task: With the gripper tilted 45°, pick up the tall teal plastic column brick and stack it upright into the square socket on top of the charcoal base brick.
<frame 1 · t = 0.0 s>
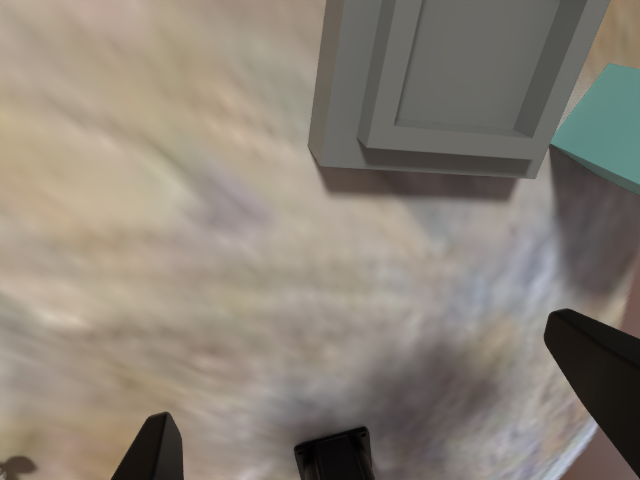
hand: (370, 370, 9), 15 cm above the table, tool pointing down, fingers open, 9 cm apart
base brick: (441, 35, 20), on the table
column brick: (602, 123, 25), on the table
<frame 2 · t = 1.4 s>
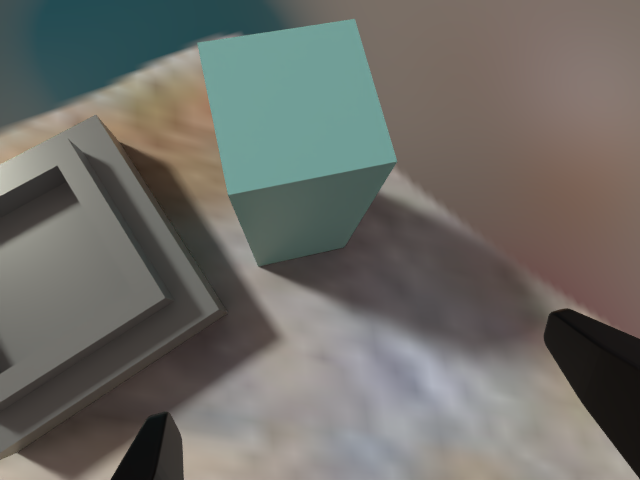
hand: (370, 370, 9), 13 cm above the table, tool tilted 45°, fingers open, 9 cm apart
base brick: (72, 283, 22), on the table
column brick: (292, 215, 24), on the table
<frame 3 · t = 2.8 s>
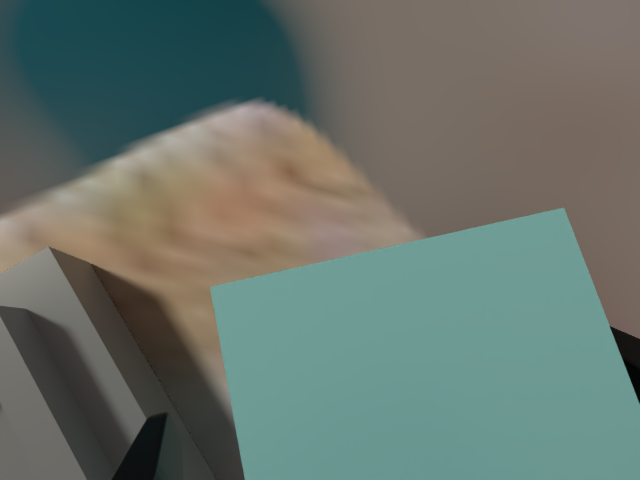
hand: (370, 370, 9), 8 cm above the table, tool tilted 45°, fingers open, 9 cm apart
column brick: (338, 371, 17), on the table
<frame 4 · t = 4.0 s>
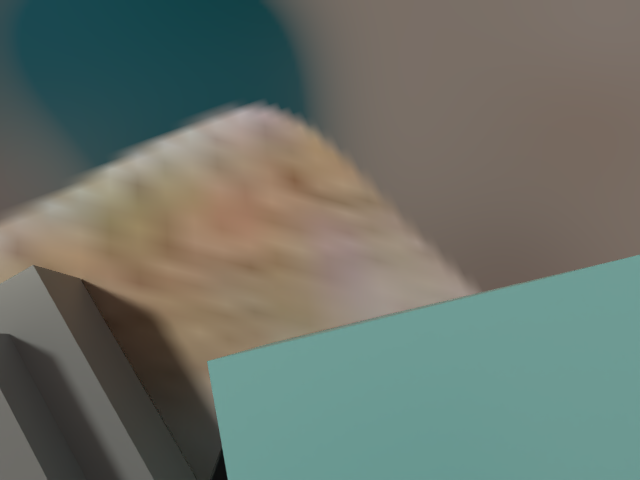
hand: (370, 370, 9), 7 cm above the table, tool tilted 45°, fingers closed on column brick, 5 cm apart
column brick: (346, 394, 16), on the table, touching gripper
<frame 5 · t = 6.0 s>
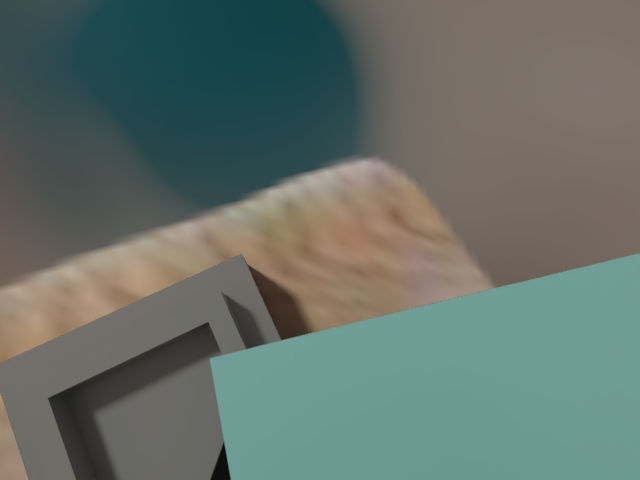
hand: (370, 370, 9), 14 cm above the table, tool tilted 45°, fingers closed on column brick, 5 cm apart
base brick: (187, 417, 21), on the table
column brick: (347, 394, 16), point 7 cm above the table, touching gripper
when the fingers open (11 cm above the table, at t = 7.9 s): column brick drops 2 cm, resting on base brick.
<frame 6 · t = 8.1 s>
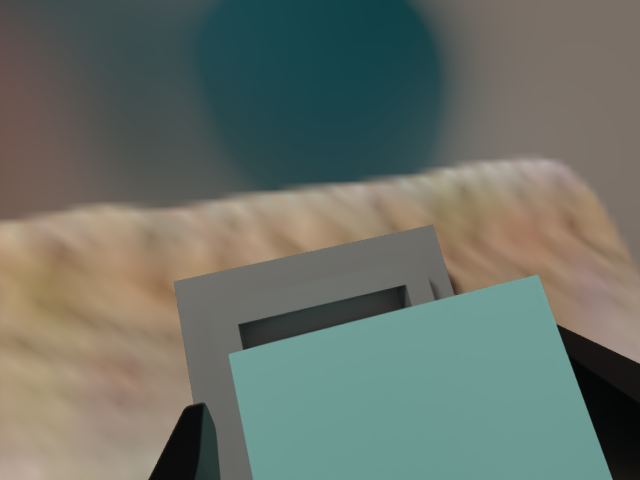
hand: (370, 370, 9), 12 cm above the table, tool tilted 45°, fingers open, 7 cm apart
base brick: (333, 381, 20), on the table
column brick: (339, 387, 17), point 3 cm above the table, touching base brick
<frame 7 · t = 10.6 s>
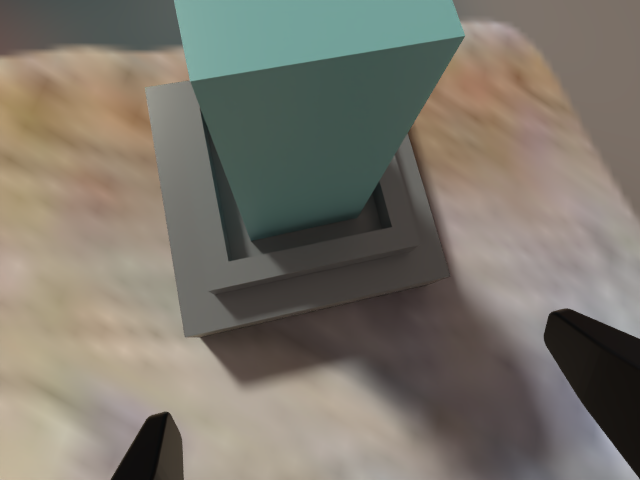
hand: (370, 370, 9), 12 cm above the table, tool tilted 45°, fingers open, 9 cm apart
base brick: (293, 200, 22), on the table
column brick: (292, 178, 19), point 3 cm above the table, touching base brick
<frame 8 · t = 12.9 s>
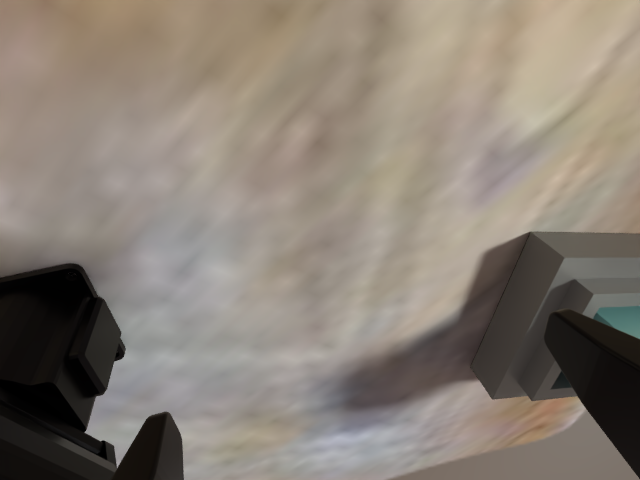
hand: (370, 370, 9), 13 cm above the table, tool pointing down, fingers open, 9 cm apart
base brick: (567, 303, 31), on the table
column brick: (599, 331, 28), point 3 cm above the table, touching base brick
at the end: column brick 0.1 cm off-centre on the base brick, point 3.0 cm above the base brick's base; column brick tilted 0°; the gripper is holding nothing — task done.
